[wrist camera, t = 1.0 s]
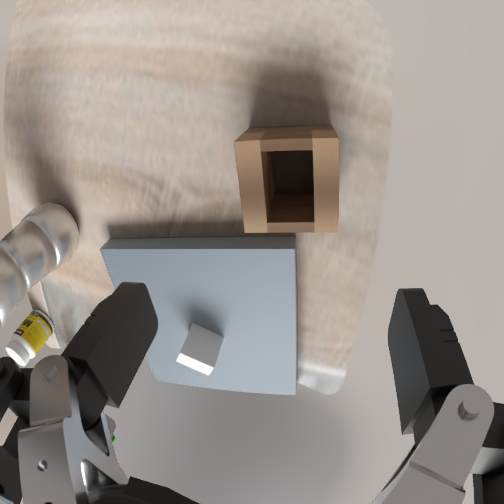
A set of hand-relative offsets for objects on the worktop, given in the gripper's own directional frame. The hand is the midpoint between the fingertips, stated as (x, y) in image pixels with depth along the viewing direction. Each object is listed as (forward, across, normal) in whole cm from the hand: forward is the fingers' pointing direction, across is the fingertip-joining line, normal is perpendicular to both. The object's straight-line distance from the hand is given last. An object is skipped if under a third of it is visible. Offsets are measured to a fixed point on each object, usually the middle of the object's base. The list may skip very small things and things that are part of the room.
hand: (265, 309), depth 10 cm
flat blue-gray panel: (+16, +9, +16) cm, 24 cm away
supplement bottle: (+16, +38, +20) cm, 46 cm away
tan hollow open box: (+16, 0, 0) cm, 16 cm away
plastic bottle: (+16, +24, +4) cm, 29 cm away
